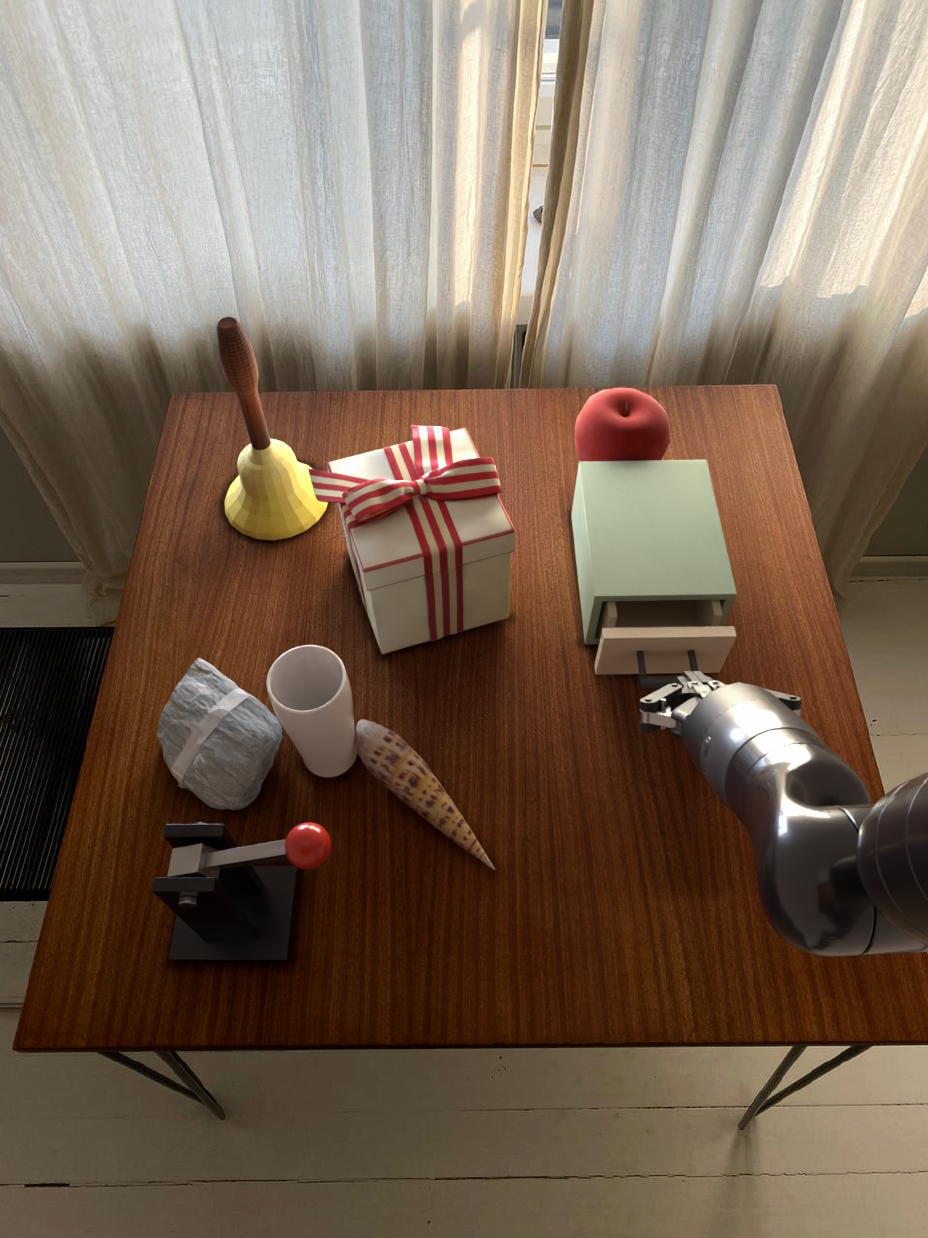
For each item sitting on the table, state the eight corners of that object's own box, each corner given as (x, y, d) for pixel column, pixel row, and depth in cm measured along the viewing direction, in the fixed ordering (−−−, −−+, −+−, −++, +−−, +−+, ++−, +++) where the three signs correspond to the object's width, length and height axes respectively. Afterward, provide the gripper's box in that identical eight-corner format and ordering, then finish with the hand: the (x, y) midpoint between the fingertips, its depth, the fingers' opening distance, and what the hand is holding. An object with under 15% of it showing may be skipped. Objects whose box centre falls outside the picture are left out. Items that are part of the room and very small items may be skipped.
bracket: (299, 869, 79) (264, 804, 65) (289, 963, 74) (249, 913, 61) (188, 869, 79) (131, 804, 66) (172, 963, 74) (107, 912, 61)
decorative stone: (307, 751, 85) (296, 724, 80) (232, 832, 81) (216, 808, 76) (213, 681, 89) (198, 651, 84) (137, 754, 85) (116, 726, 80)
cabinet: (716, 642, 92) (737, 594, 84) (584, 644, 92) (594, 596, 84) (689, 512, 101) (706, 459, 94) (571, 514, 101) (578, 461, 94)
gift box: (454, 497, 103) (451, 384, 89) (521, 616, 94) (530, 511, 79) (317, 543, 99) (290, 432, 85) (372, 671, 90) (353, 571, 76)
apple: (672, 500, 102) (693, 427, 93) (585, 517, 101) (597, 444, 91) (640, 435, 108) (657, 360, 99) (557, 450, 107) (566, 375, 97)
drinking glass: (295, 726, 87) (265, 647, 74) (364, 719, 87) (345, 639, 74) (296, 790, 83) (264, 718, 70) (367, 783, 83) (348, 710, 71)
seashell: (381, 725, 87) (376, 701, 82) (509, 858, 79) (511, 839, 75) (346, 753, 85) (339, 730, 81) (473, 892, 77) (473, 874, 73)
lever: (341, 827, 63) (316, 812, 60) (337, 871, 61) (311, 858, 59) (198, 852, 67) (169, 839, 65) (190, 894, 66) (161, 882, 63)
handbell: (343, 471, 105) (311, 293, 85) (307, 549, 99) (263, 376, 78) (248, 452, 107) (195, 273, 86) (207, 528, 101) (137, 353, 80)
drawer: (726, 709, 86) (745, 674, 80) (599, 711, 86) (608, 677, 80) (693, 544, 98) (707, 503, 92) (581, 545, 98) (588, 505, 92)
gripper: (656, 808, 59) (613, 724, 76) (850, 805, 59) (764, 722, 76) (660, 702, 58) (615, 641, 75) (859, 699, 58) (769, 638, 75)
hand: (690, 682), depth 75 cm, fingers closed
